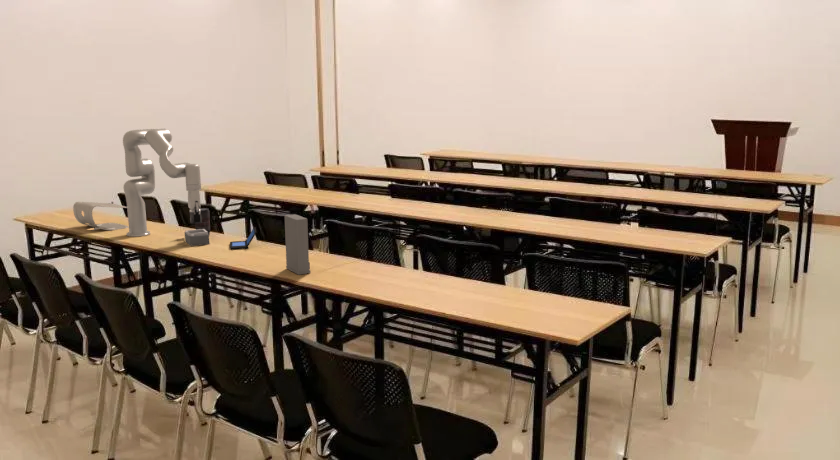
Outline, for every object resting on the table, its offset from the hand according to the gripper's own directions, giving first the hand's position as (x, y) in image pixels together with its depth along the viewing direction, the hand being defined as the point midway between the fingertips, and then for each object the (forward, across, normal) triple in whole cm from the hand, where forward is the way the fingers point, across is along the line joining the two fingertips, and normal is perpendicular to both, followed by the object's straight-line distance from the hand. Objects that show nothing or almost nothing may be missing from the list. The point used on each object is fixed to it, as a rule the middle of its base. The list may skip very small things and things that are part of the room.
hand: (196, 220), depth 384 cm
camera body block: (+12, 0, 0) cm, 12 cm away
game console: (+13, +20, +20) cm, 31 cm away
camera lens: (+12, -18, +7) cm, 23 cm away
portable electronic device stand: (+12, -71, -40) cm, 83 cm away
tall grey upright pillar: (+13, +85, +28) cm, 90 cm away
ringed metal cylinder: (+1, 0, 0) cm, 1 cm away
